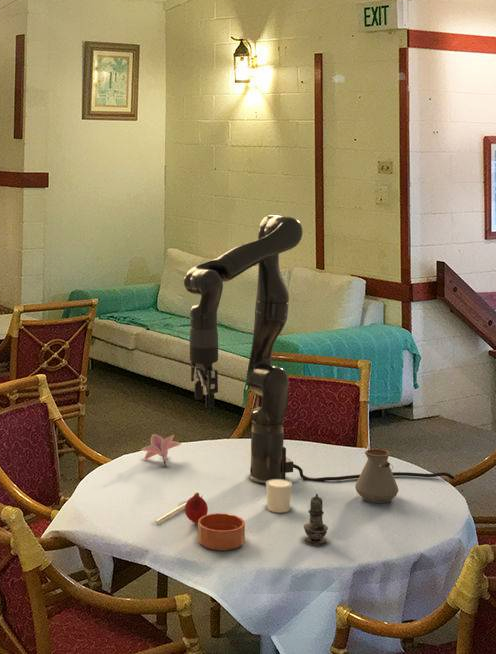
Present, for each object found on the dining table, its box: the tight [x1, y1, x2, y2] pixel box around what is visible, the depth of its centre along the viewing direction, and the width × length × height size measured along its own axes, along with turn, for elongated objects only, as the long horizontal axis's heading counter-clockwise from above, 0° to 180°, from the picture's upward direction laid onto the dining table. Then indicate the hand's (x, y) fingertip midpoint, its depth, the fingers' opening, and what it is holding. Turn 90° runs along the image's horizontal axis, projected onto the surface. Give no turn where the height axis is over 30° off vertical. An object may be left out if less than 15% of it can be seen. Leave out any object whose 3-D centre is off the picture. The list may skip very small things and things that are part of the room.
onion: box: [184, 492, 209, 525], centre depth 243 cm, size 6×6×8 cm
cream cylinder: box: [265, 479, 293, 514], centre depth 253 cm, size 7×7×7 cm
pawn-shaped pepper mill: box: [303, 493, 329, 547], centre depth 232 cm, size 6×6×12 cm
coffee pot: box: [354, 448, 399, 504], centre depth 256 cm, size 21×12×15 cm, turn 177°
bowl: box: [197, 512, 246, 551], centre depth 232 cm, size 11×11×5 cm
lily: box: [140, 433, 182, 467], centre depth 289 cm, size 12×12×10 cm
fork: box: [155, 494, 204, 524], centre depth 251 cm, size 3×20×2 cm, turn 145°
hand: (204, 403), depth 256 cm, fingers open, 8 cm apart
